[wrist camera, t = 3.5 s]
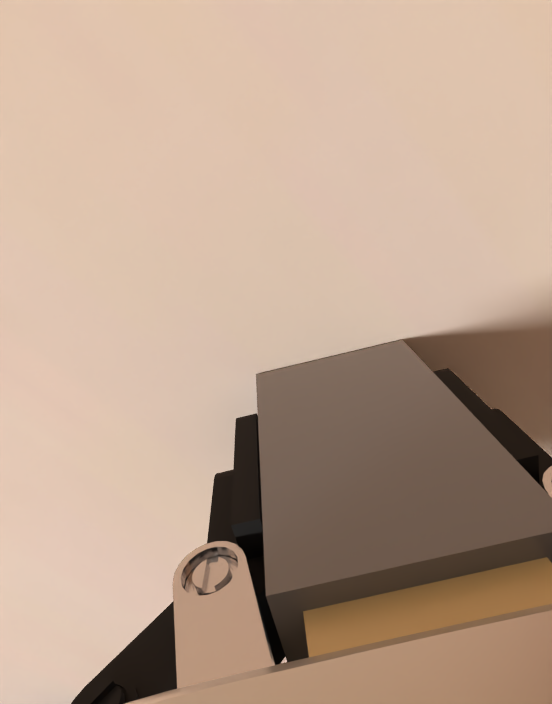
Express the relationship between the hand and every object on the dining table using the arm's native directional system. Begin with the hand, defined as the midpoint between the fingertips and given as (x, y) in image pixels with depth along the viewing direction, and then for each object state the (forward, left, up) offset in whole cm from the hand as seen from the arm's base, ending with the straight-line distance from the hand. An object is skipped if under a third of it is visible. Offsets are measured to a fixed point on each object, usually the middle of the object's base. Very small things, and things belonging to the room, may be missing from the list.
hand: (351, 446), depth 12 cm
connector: (0, 0, -1) cm, 1 cm away
